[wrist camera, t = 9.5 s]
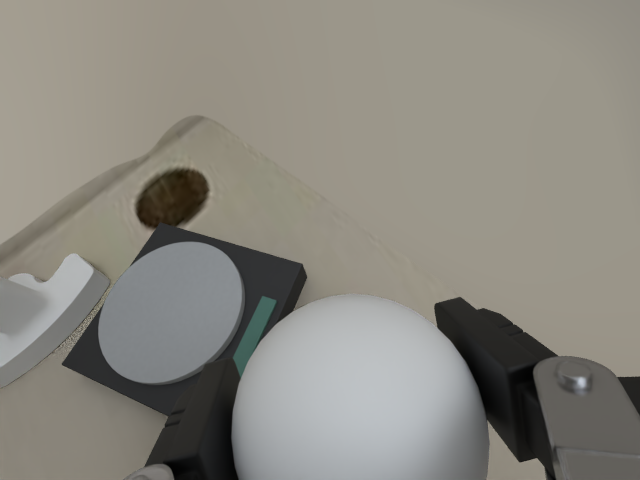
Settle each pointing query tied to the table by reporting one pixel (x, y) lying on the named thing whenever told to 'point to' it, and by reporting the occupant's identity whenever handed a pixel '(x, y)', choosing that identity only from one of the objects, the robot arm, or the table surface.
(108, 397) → the table surface
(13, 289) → the joystick
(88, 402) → the table surface
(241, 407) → the lightbulb
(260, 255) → the scale
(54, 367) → the table surface
